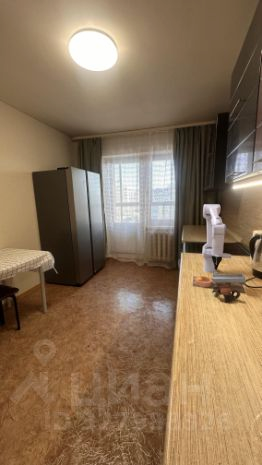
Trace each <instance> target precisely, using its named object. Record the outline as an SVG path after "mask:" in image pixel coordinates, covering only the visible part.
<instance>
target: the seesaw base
mask: <svg viewBox="0 0 262 465" xmlns="http://www.w3.org/2000/svg"><path fill="white" fill-rule="evenodd" d="M196 277H197V276H194V275H193V277H192V278H193V280H192V281H193V282H192V287H195V288H203V289H211V290H213V287H217V286H229V288H230V289H232V290H234V289H236V290H238V291H239V292H240V294H247V293H246V290H245V288H244V285H240V284H239V282H213V277H212V278H210V277H209V278H210V279H212V286H210V287H200V286H198V285H196V284H195V278H196Z"/></svg>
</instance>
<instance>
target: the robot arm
mask: <svg viewBox="0 0 262 465" xmlns="http://www.w3.org/2000/svg"><path fill="white" fill-rule="evenodd" d="M202 209H203V210H202V216H203V219H205V221H206V243H205V244H204V245H203V246H202V252H201V254H202V258H204V260H203V261H204V262H203V267H202V271H203V272H208V273H213V272H217V270H218V268H219V266H220V264H221V262H222V260H223V258H224V259H225V258H226V259H229V260H230V259H231V260H232V254H230V253H224V242H225V235H226V233H227V226H226V224H225V223H223V219H222V217H221V216H219V215H220V213H221V205H220V204H219V203H218V204H216V203H215V204H208V203H207V204H203V208H202Z"/></svg>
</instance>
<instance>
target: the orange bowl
mask: <svg viewBox="0 0 262 465" xmlns="http://www.w3.org/2000/svg"><path fill="white" fill-rule="evenodd" d="M198 277H201V278H202V280H203V281H202V282H201V281H198V280H197V278H198ZM212 279H213V278H212ZM212 279H210V277H208V276H205V275H204V276H203V275H201V276H200V275H198V276H196V278H195V284H196V285H198V286H200V287H199V288H202V287H210V286H212Z"/></svg>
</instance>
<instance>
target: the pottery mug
mask: <svg viewBox="0 0 262 465" xmlns="http://www.w3.org/2000/svg"><path fill="white" fill-rule="evenodd" d="M214 293H215V294H218V293H219V294H221V295H223V298H221V299H219V302H220V303H223V304H231V303H233V302H234V301H235V300H237V299H239V298H240V297H241V293H240V292H239V291H238V290H236V289H234V290H232V289H230V288H229V286H217V287H213V289H212V294H214ZM235 293H236V295H234V294H235Z"/></svg>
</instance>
